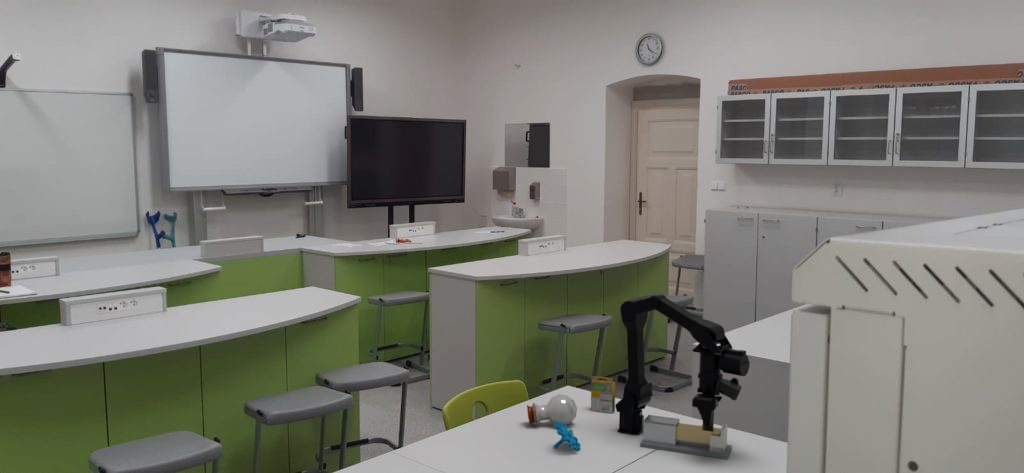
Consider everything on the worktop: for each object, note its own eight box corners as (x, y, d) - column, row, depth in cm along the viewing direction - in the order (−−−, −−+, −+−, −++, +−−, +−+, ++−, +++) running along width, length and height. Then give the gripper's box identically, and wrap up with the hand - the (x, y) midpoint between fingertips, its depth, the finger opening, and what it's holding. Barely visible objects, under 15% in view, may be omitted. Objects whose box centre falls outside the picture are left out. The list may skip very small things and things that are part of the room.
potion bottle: (579, 430, 242) (531, 437, 241) (573, 404, 249) (526, 411, 248) (580, 411, 236) (531, 418, 234) (574, 385, 243) (525, 392, 242)
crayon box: (615, 411, 256) (615, 376, 255) (612, 413, 254) (613, 378, 253) (593, 408, 259) (594, 373, 258) (590, 410, 257) (591, 375, 256)
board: (640, 446, 224) (640, 443, 224) (647, 436, 232) (647, 433, 232) (727, 459, 215) (727, 456, 215) (731, 448, 223) (731, 445, 223)
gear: (578, 451, 215) (554, 422, 218) (562, 465, 216) (538, 436, 219) (586, 443, 226) (563, 416, 228) (571, 456, 227) (548, 429, 229)
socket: (709, 451, 218) (710, 428, 217) (712, 444, 223) (713, 422, 223) (723, 453, 216) (724, 430, 216) (726, 446, 222) (727, 424, 221)
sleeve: (643, 441, 225) (644, 420, 225) (647, 435, 230) (648, 414, 230) (675, 446, 222) (675, 424, 221) (678, 440, 227) (679, 418, 226)
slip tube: (668, 438, 223) (669, 408, 222) (671, 434, 227) (672, 404, 226) (719, 445, 218) (720, 414, 217) (721, 441, 221) (722, 411, 220)
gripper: (735, 381, 207) (733, 439, 209) (744, 365, 225) (742, 418, 226) (692, 376, 212) (690, 433, 213) (704, 361, 229) (702, 413, 230)
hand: (708, 424), depth 220 cm, fingers closed on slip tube, 3 cm apart
